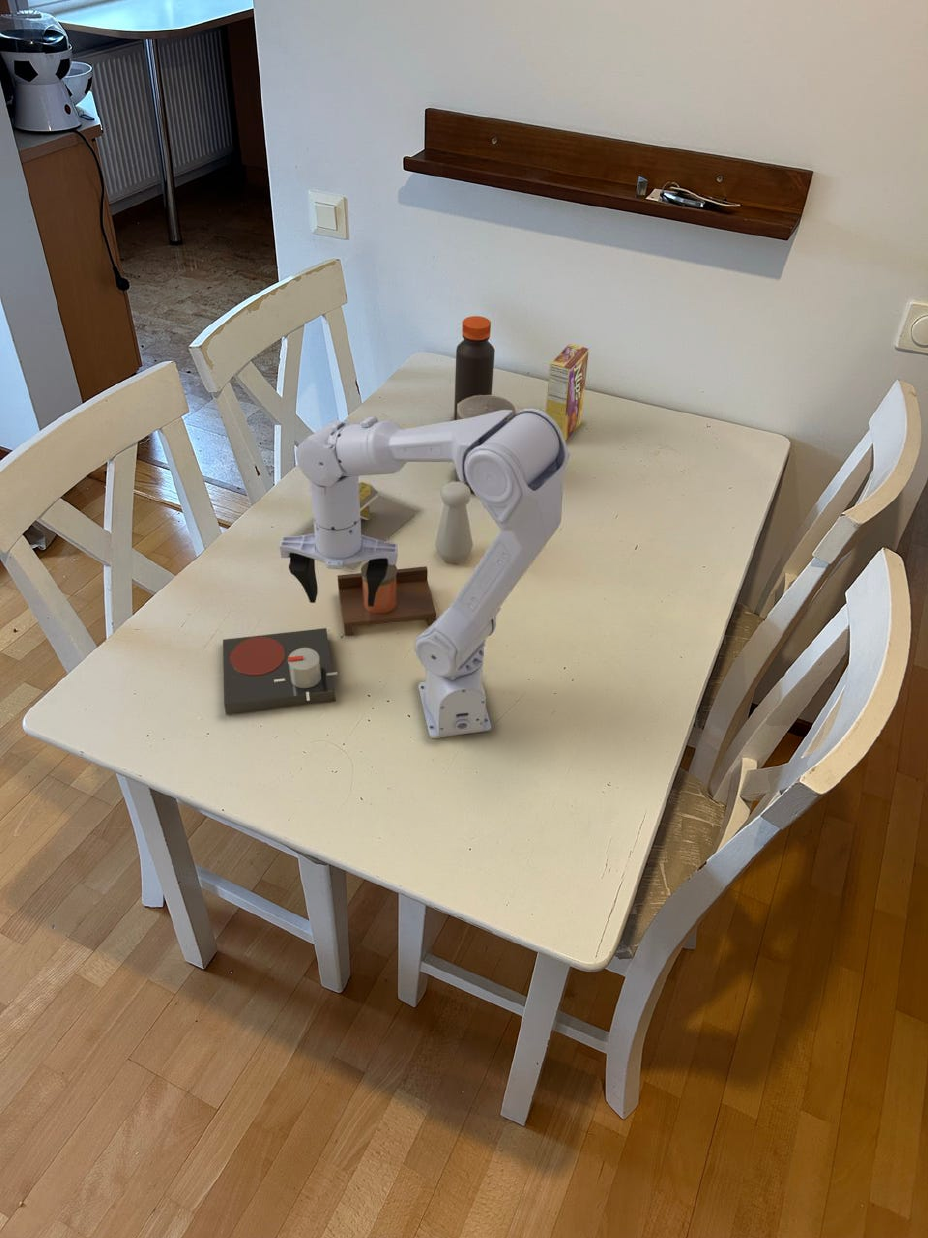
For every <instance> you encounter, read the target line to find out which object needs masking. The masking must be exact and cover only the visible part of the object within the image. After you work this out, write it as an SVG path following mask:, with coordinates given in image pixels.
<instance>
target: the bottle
mask: <svg viewBox="0 0 928 1238" xmlns="http://www.w3.org/2000/svg"><path fill="white" fill-rule="evenodd" d="M461 330H462V331H461V333H462V338H463V340H462V341H461V342H459V344H458V345H457V346H456V350H455V379H454V407H453V408H454V409H453V411H454V412H453V421H454V420H457V407H458V406H457V404H458V403H460V402H461V401H462V400H464V399H466V398H469V397H472V396H478V395H493V383H494V366H495V365H494V364H495V348H494V346H493V344H491V342H490V341H489V340H490V338H491V330H492V322H491V320H490V319H489V318H486V317H485V316H479V315H473V316H472V315H471V316H468V317H466V318H464V319H463V320H462V329H461Z"/></svg>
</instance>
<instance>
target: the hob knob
mask: <svg viewBox="0 0 928 1238" xmlns="http://www.w3.org/2000/svg"><path fill="white" fill-rule="evenodd" d="M288 665H289V673H290V680H291V682H292V684H293V685H295V686H296V687H299V688H311V687H313V686H315V685H317V684H318V683H319V681H320V680H321V668H320V659H319V654H318V653H317V652H316V651H315V650H313V649H310V648H300V649H297V650H295V651H293V652H292V653H291V654H290V655H289V657H288Z"/></svg>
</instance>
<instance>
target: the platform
mask: <svg viewBox="0 0 928 1238" xmlns="http://www.w3.org/2000/svg"><path fill="white" fill-rule="evenodd" d="M359 500H360V519H361V535H364V536H367V537H370V538H374V539H377V540H380V541H384V542H386V541H387V539H389V538H390V537H391V536H393V535H394V533H396V531H398V530H399V529H400V528H402V526H404V524H406V523H407V522H408V521H409V520H410V519H411V518H412V517H413V516H414V515H416V514H417V513H418V512H419V511H418V510H416V509H414V508H411V507H410V506H406V505H404V504H402V503H399V502H396V501H394V500H392V499H389V498H387V497H385V496H383V495H379V492H378V490H377V489H376V488H375V487H374V486H373V485H372V484H371V483H368V482H365V481H360V482H359ZM308 534H315V532H314V523H313V524H312V525H310V526H309V527H308V528H306V529H305V530H304V531H303V532H301V533H300V534H298V536H302V535H308ZM362 562H363V561H361V562H355V563H349V564H344V566H343V567H347V568H349V569H351V570H354V569H355V568H356V567H357V566H358V565H360V563H362Z"/></svg>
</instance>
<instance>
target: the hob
mask: <svg viewBox="0 0 928 1238" xmlns="http://www.w3.org/2000/svg"><path fill="white" fill-rule="evenodd" d="M255 637H267V638H271V639H274V640H276V641H278V642H279V643H280V644H281V645H282V646H283V648H284V650H285V658H284V661H283V662H282V664H281V665H280V666H279V667H278V668H277V669H275V670H274V671H272V672H270V673H267V674H264V675H259V676H250V675H245V674H242V673H240V672H238V671H236V670H235V669H234V668H233V666H232V665H231V662H230V656H231V653H232V651H233V649H234V648H235V647H236V646H237V645H238V644H239V643H241V642H243V641H245V640H247V639H250V638H255ZM328 637H329V636H328V630H327V627H324V628H323V627H322V628H314V629H305V630H296V631H288V632H280V633H270V634H261V635H253V636H244V637H234V638H226V639H222V658H223V659H222V662H223V663H222V664H223V705H224V710H225V714H226V716H229V715H239V714H244V713H245V714H247V713H254V712H261V711H262V712H263V711H268V710H278V709H285V708H291V707H292V708H293V707H301V706H309V705H316V704H324V703H333V702H336V701H337V698H336V689H335V681H334V676H337V675H338V672H337V671H333V667H332V666H333V665H332V660H331V652H330V644H329V638H328ZM300 648H310V649H313V650H315V651H316V652H317V653H318V654H319V659H320V668H321V680H320V681H319V683H318V684H317V685H315V686H313V687H311V688H299V687H296V686H295V685H293V684H292V682H291V680H290V673H289V665H288V657H289V655H290V654H291V653H292V652H293V651H295V650H297V649H300Z"/></svg>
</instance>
